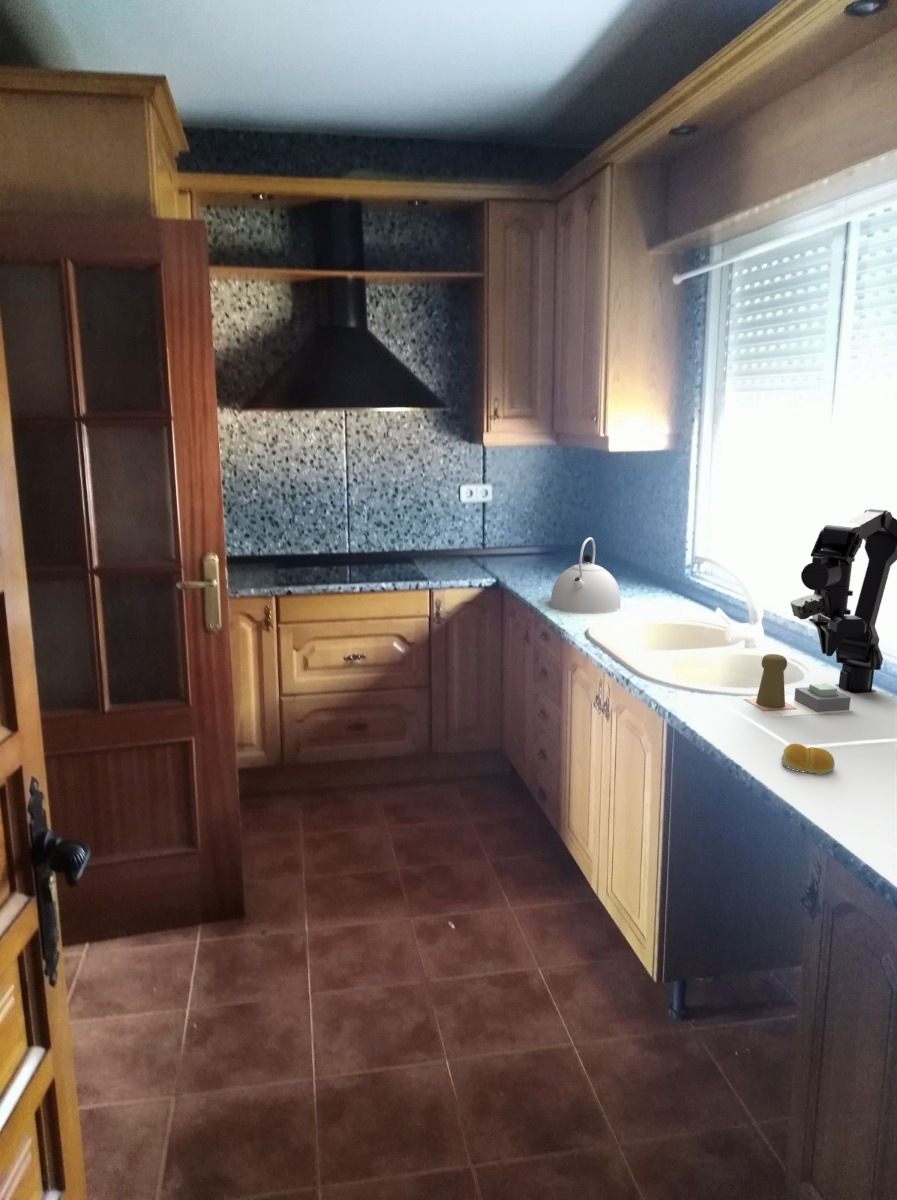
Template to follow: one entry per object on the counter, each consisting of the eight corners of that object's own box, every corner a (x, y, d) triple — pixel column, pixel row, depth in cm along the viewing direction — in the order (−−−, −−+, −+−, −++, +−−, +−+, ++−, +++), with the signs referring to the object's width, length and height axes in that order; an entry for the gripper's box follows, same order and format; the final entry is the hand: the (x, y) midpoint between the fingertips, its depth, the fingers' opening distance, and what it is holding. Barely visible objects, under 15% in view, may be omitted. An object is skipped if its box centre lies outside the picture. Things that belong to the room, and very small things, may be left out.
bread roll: (834, 779, 156) (837, 758, 155) (781, 771, 159) (783, 750, 158) (832, 761, 163) (834, 741, 162) (781, 754, 166) (783, 734, 165)
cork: (784, 700, 194) (788, 652, 192) (786, 709, 188) (791, 660, 186) (755, 697, 196) (759, 650, 193) (756, 706, 190) (761, 657, 188)
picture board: (817, 696, 200) (818, 681, 199) (851, 714, 188) (853, 698, 188) (742, 701, 196) (743, 686, 195) (772, 719, 184) (774, 704, 183)
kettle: (609, 618, 271) (613, 546, 266) (539, 610, 280) (542, 540, 275) (626, 602, 294) (631, 535, 289) (561, 595, 302) (564, 531, 298)
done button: (824, 693, 194) (825, 683, 194) (836, 699, 190) (837, 688, 190) (808, 694, 193) (809, 684, 193) (819, 700, 189) (821, 689, 189)
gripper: (779, 575, 195) (772, 643, 198) (818, 593, 177) (810, 667, 180) (828, 575, 195) (820, 643, 199) (871, 593, 177) (862, 667, 181)
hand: (826, 654), depth 190 cm, fingers closed
